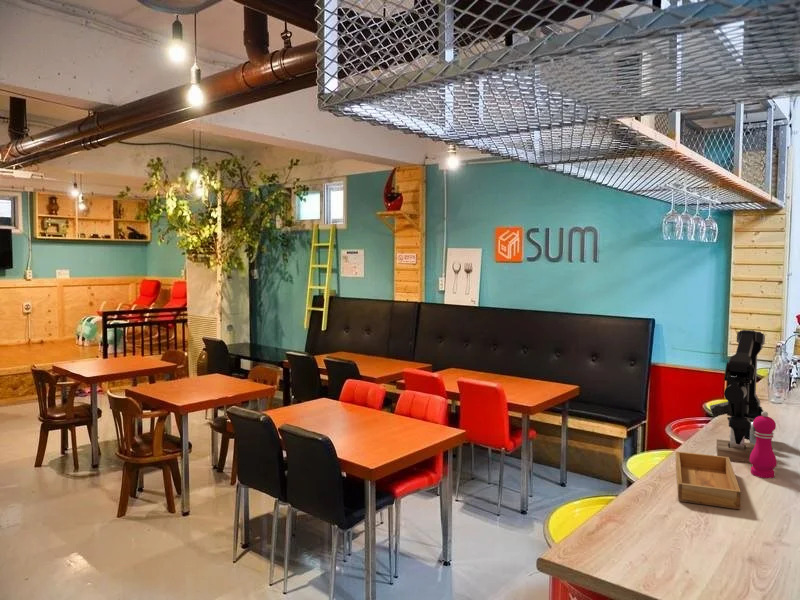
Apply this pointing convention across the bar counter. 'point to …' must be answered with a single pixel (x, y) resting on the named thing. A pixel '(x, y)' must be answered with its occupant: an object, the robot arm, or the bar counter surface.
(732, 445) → the square bit
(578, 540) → the bar counter surface
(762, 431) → the pepper mill
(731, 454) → the bore block
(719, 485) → the tray
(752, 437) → the round bit
